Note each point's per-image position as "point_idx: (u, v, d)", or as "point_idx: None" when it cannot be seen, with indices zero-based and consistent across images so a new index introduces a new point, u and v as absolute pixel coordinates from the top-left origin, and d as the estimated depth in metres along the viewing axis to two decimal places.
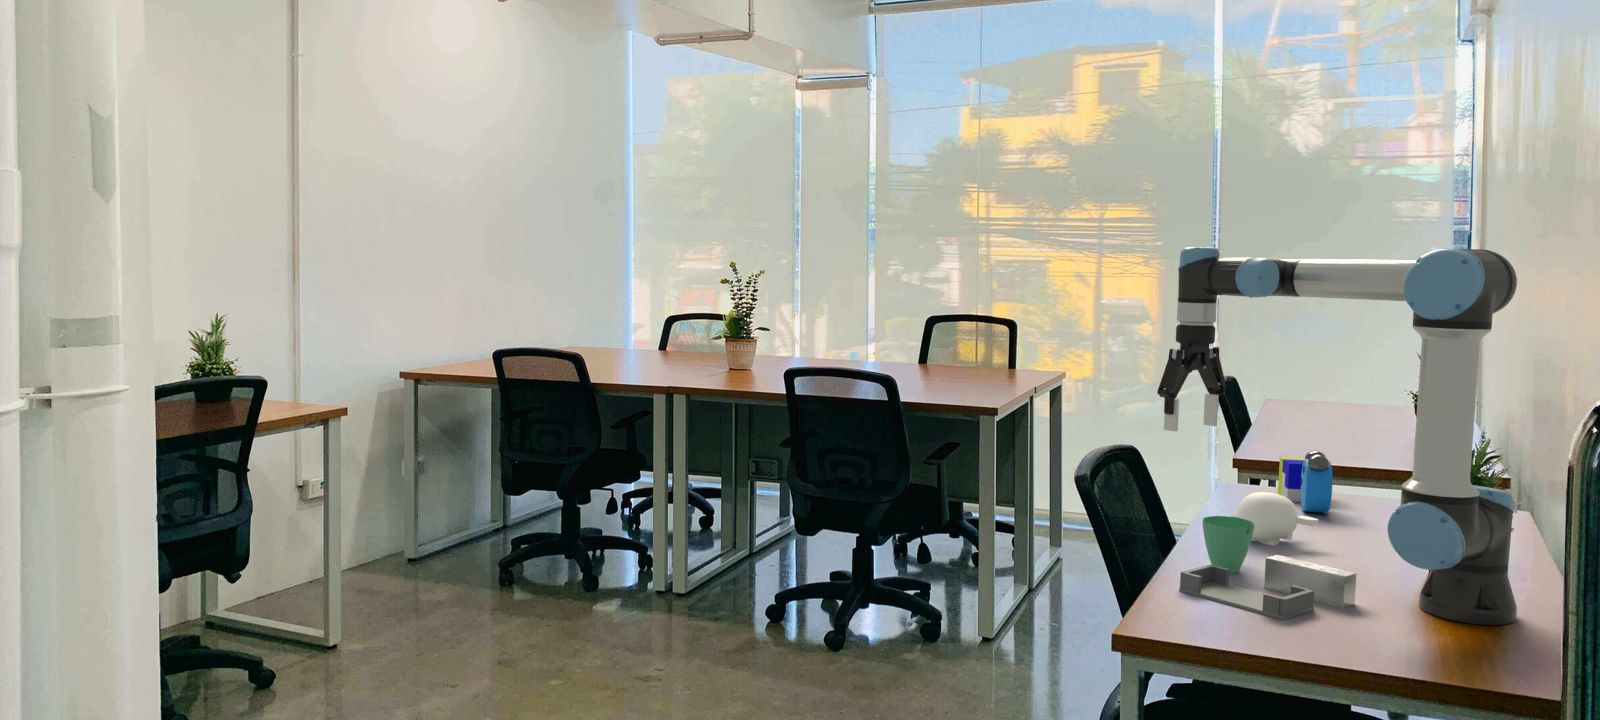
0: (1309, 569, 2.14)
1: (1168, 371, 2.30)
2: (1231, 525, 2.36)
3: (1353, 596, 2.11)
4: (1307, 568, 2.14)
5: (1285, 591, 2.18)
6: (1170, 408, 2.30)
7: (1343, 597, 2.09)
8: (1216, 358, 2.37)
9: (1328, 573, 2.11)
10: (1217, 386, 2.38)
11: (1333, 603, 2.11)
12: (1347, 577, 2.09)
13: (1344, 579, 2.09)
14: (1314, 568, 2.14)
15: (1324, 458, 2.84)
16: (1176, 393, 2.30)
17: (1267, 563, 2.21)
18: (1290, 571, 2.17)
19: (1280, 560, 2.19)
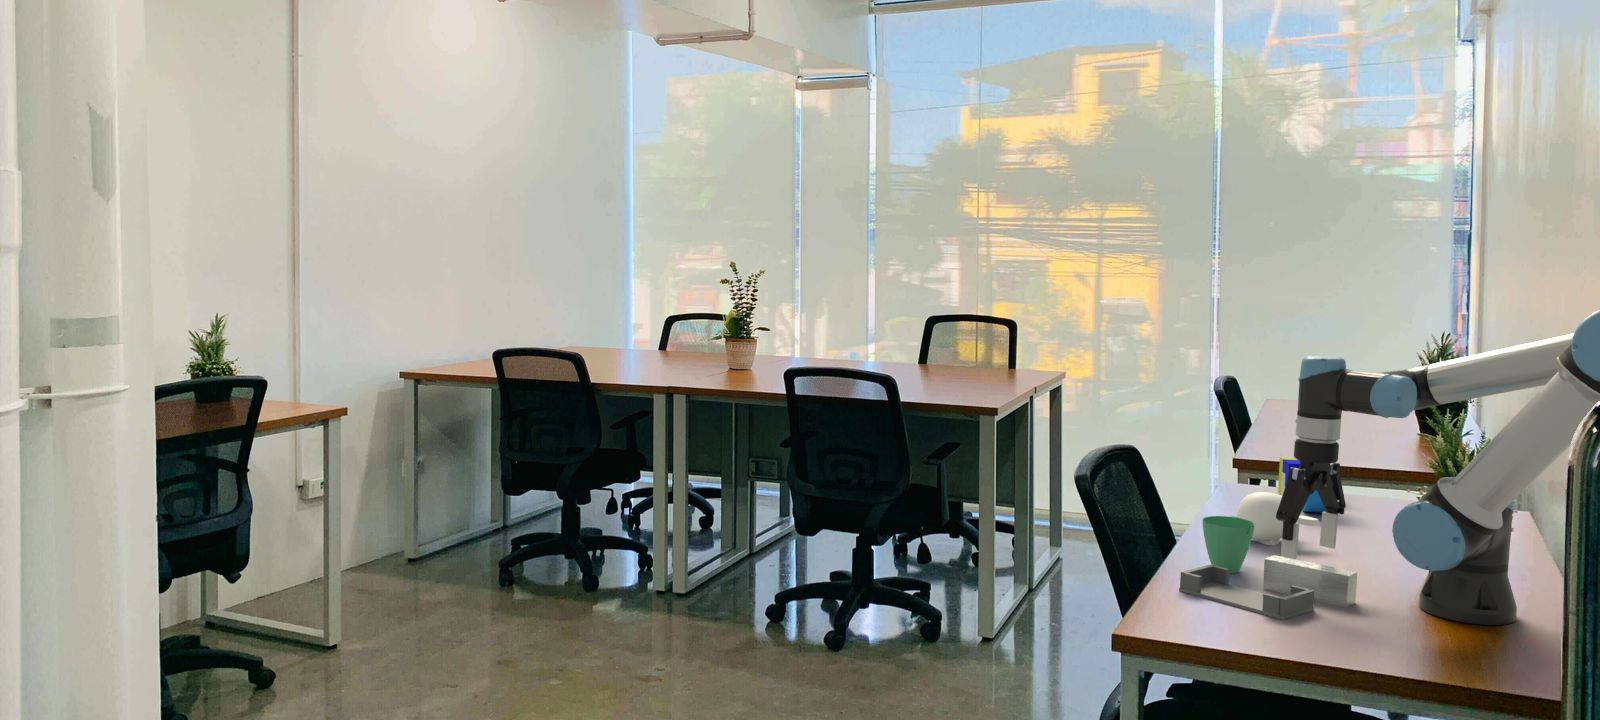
0: (1310, 569, 2.14)
1: (1288, 493, 2.10)
2: (1231, 525, 2.36)
3: (1354, 595, 2.12)
4: (1308, 568, 2.14)
5: (1285, 592, 2.17)
6: (1289, 534, 2.10)
7: (1346, 596, 2.09)
8: (1336, 475, 2.17)
9: (1330, 573, 2.11)
10: (1337, 505, 2.18)
11: (1336, 603, 2.11)
12: (1350, 576, 2.09)
13: (1348, 578, 2.09)
14: (1315, 568, 2.14)
15: None
16: (1296, 517, 2.10)
17: (1266, 564, 2.20)
18: (1290, 572, 2.17)
19: (1279, 561, 2.19)
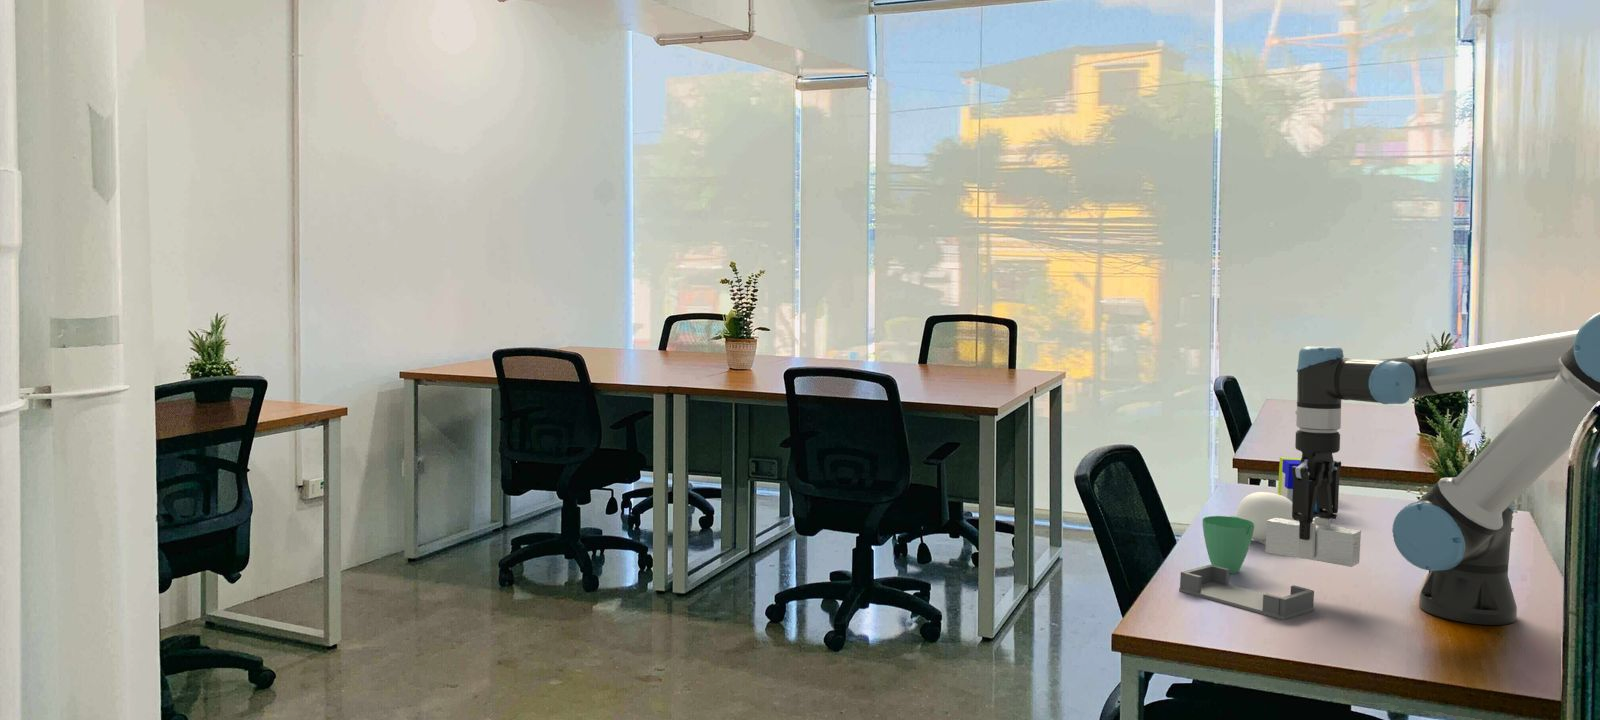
0: None
1: (1297, 493, 2.11)
2: (1231, 525, 2.36)
3: (1358, 554, 2.11)
4: None
5: (1289, 553, 2.16)
6: (1306, 533, 2.12)
7: (1351, 555, 2.09)
8: (1336, 473, 2.16)
9: (1335, 532, 2.10)
10: (1330, 508, 2.16)
11: (1341, 562, 2.10)
12: (1354, 534, 2.09)
13: (1353, 536, 2.08)
14: (1319, 528, 2.13)
15: None
16: (1312, 516, 2.12)
17: (1268, 526, 2.19)
18: (1293, 533, 2.16)
19: (1282, 522, 2.17)
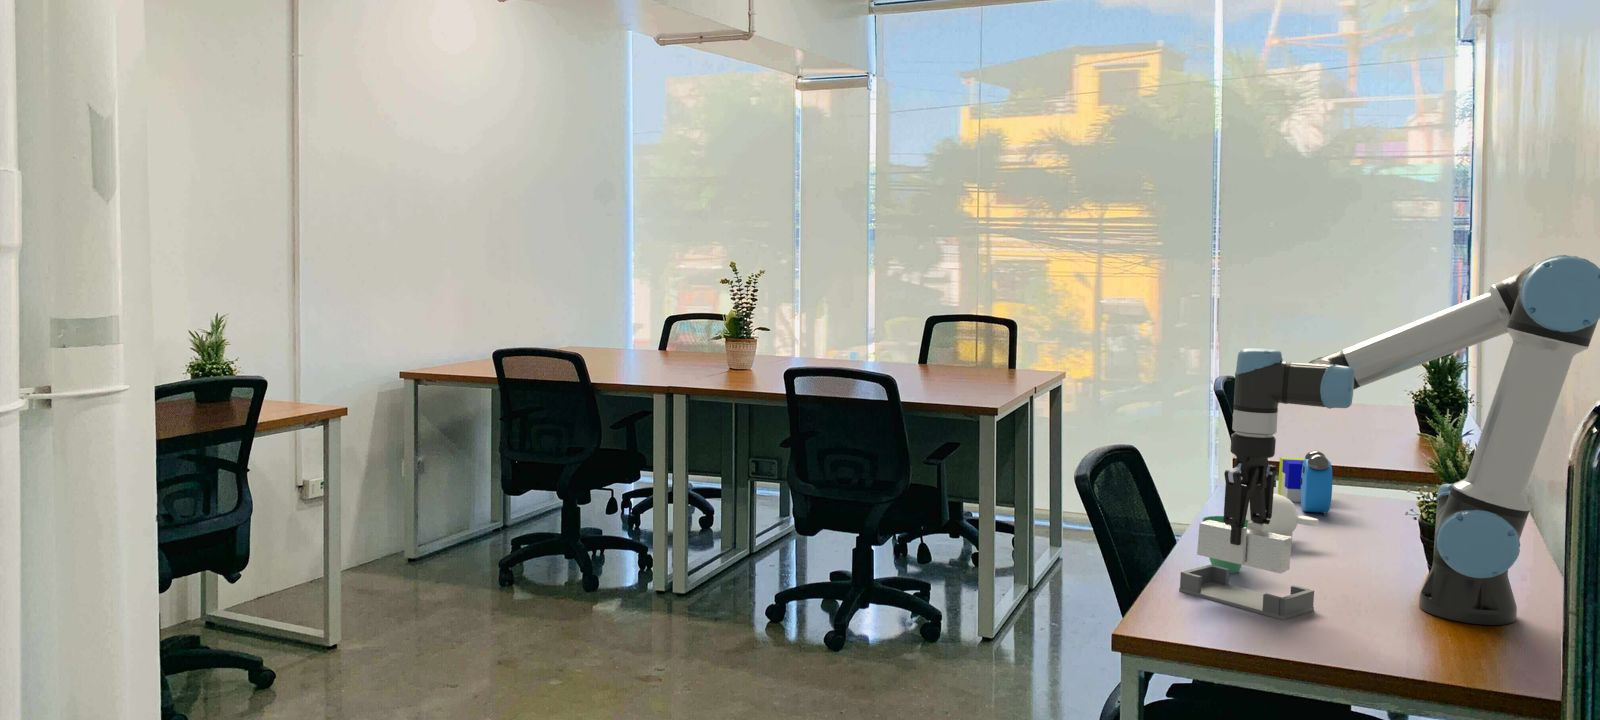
0: None
1: (1229, 498, 2.07)
2: None
3: (1289, 560, 2.08)
4: None
5: (1219, 557, 2.13)
6: (1237, 538, 2.09)
7: (1281, 561, 2.06)
8: (1271, 477, 2.13)
9: (1266, 537, 2.07)
10: (1264, 513, 2.12)
11: (1270, 568, 2.07)
12: (1285, 541, 2.06)
13: (1283, 543, 2.05)
14: (1250, 533, 2.10)
15: (1324, 458, 2.84)
16: (1243, 521, 2.08)
17: (1201, 528, 2.15)
18: (1225, 536, 2.12)
19: (1214, 525, 2.14)
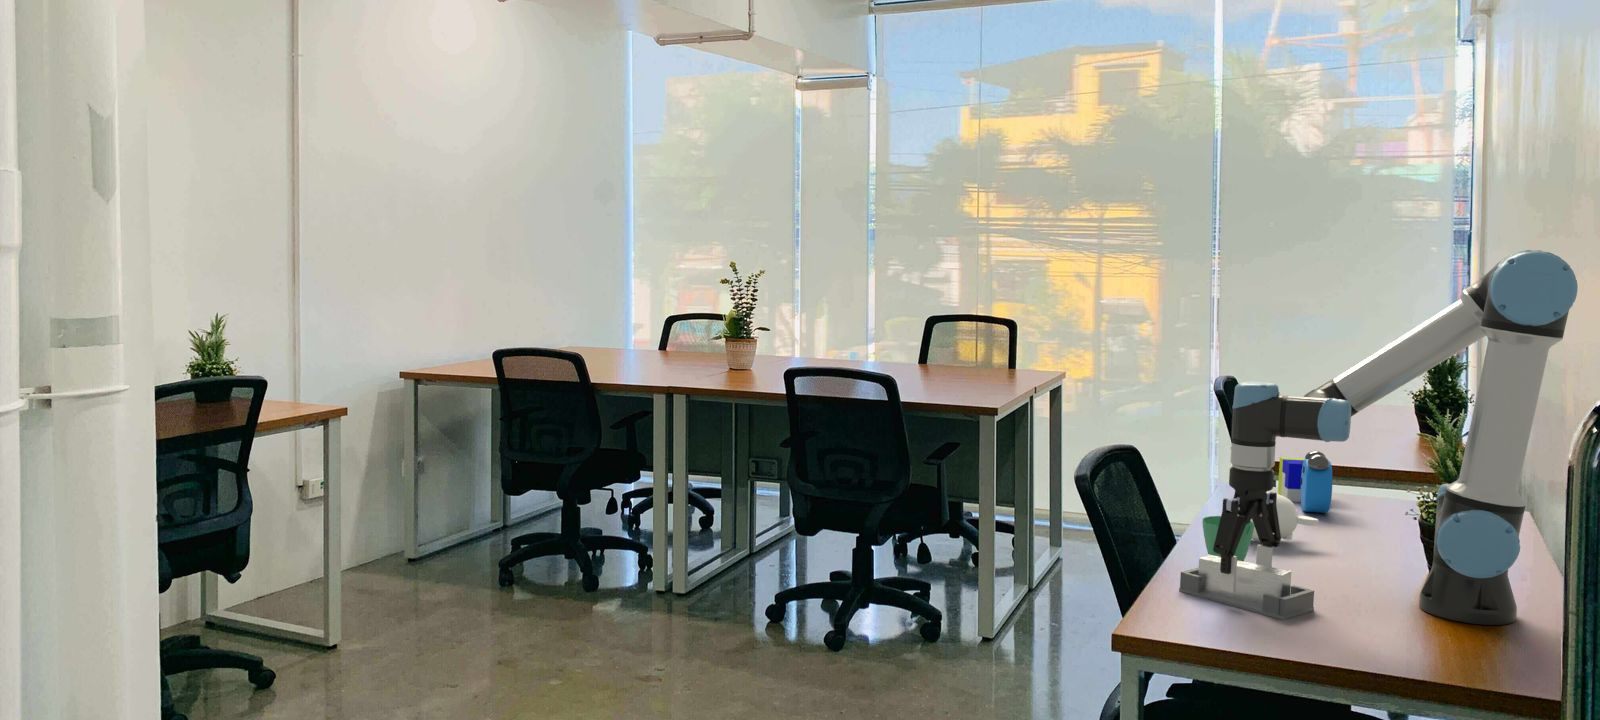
0: (1245, 569, 2.10)
1: (1223, 526, 2.07)
2: None
3: (1289, 594, 2.08)
4: (1243, 568, 2.10)
5: (1220, 592, 2.14)
6: (1227, 567, 2.07)
7: (1280, 596, 2.06)
8: (1273, 505, 2.14)
9: (1265, 572, 2.08)
10: (1271, 537, 2.14)
11: None
12: (1284, 575, 2.06)
13: (1282, 578, 2.05)
14: (1249, 567, 2.10)
15: (1324, 458, 2.84)
16: (1234, 550, 2.07)
17: (1200, 564, 2.16)
18: None
19: (1214, 560, 2.15)
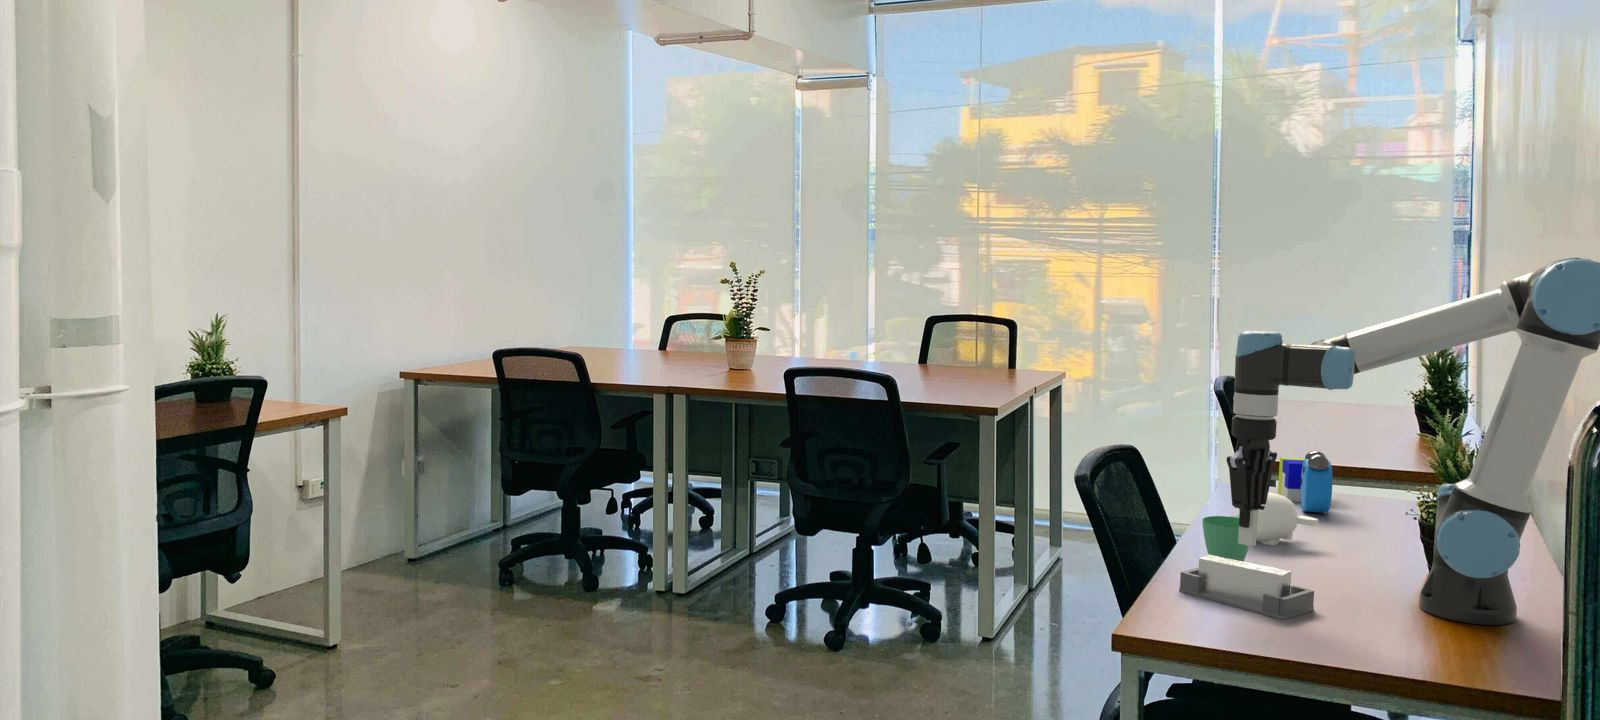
0: (1245, 569, 2.10)
1: (1235, 482, 2.08)
2: (1231, 525, 2.36)
3: (1289, 594, 2.08)
4: (1243, 568, 2.10)
5: (1220, 592, 2.14)
6: (1246, 521, 2.10)
7: (1280, 596, 2.06)
8: (1270, 463, 2.12)
9: (1265, 572, 2.08)
10: (1259, 498, 2.11)
11: None
12: (1284, 575, 2.06)
13: (1282, 578, 2.05)
14: (1249, 567, 2.10)
15: (1324, 458, 2.84)
16: (1251, 504, 2.09)
17: (1200, 564, 2.16)
18: (1224, 572, 2.13)
19: (1214, 560, 2.15)
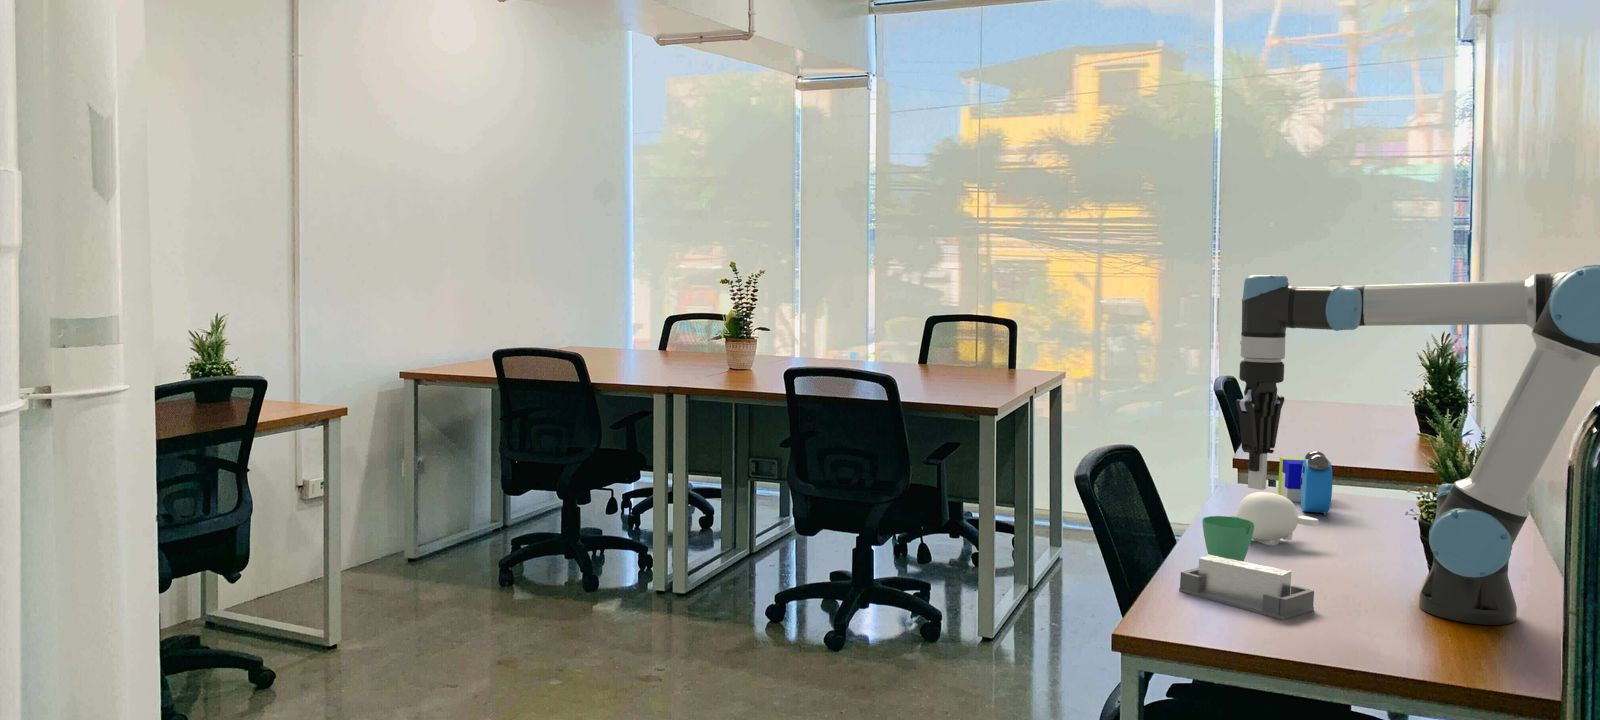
0: (1245, 569, 2.10)
1: (1244, 426, 2.08)
2: (1231, 525, 2.36)
3: (1289, 594, 2.08)
4: (1243, 568, 2.10)
5: (1220, 592, 2.14)
6: (1256, 464, 2.10)
7: (1280, 596, 2.06)
8: (1278, 406, 2.13)
9: (1265, 572, 2.08)
10: (1268, 442, 2.11)
11: None
12: (1284, 575, 2.06)
13: (1282, 578, 2.05)
14: (1249, 567, 2.10)
15: (1324, 458, 2.84)
16: (1261, 447, 2.10)
17: (1200, 564, 2.16)
18: (1224, 572, 2.13)
19: (1214, 560, 2.15)
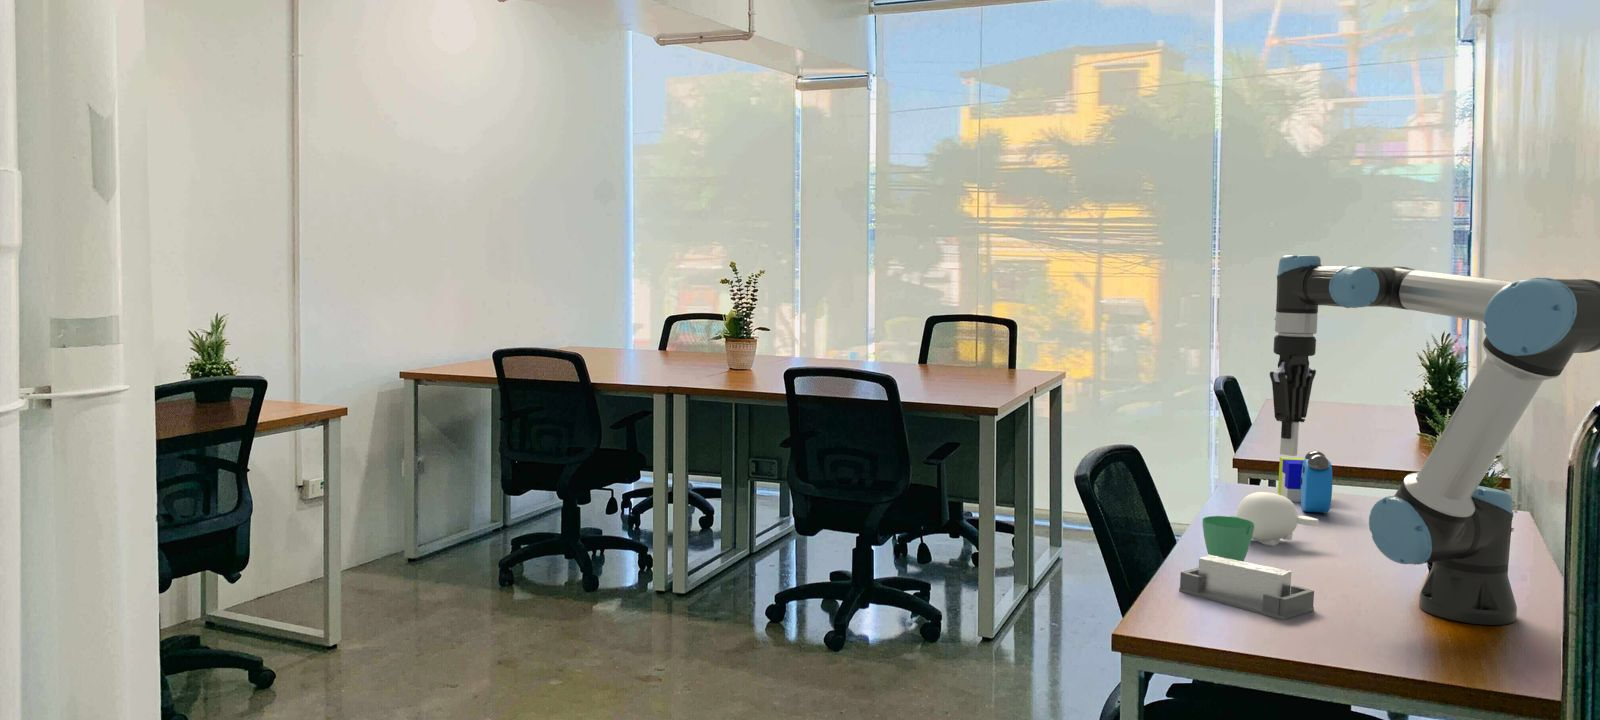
0: (1245, 569, 2.10)
1: (1277, 396, 2.23)
2: (1231, 525, 2.36)
3: (1289, 594, 2.08)
4: (1243, 568, 2.10)
5: (1220, 592, 2.14)
6: (1288, 432, 2.25)
7: (1280, 596, 2.06)
8: (1310, 379, 2.27)
9: (1265, 572, 2.08)
10: (1300, 411, 2.26)
11: None
12: (1284, 575, 2.06)
13: (1282, 578, 2.05)
14: (1249, 567, 2.10)
15: (1324, 458, 2.84)
16: (1293, 416, 2.25)
17: (1200, 564, 2.16)
18: (1224, 572, 2.13)
19: (1214, 560, 2.15)
